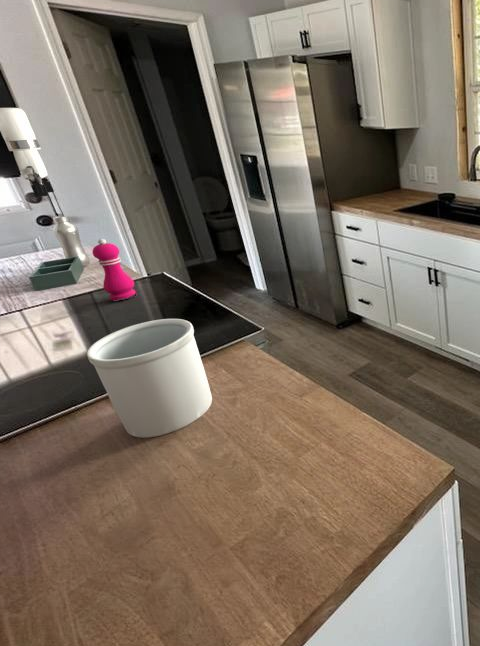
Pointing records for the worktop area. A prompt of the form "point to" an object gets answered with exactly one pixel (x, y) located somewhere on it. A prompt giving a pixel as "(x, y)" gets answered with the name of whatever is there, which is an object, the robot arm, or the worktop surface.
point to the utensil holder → (153, 376)
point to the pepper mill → (113, 271)
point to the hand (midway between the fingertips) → (45, 194)
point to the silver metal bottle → (69, 239)
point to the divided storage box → (57, 273)
